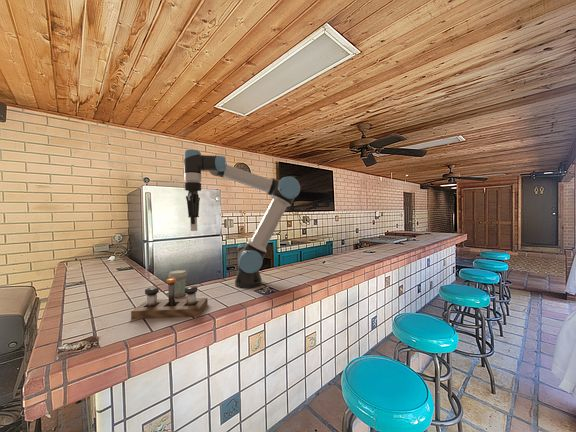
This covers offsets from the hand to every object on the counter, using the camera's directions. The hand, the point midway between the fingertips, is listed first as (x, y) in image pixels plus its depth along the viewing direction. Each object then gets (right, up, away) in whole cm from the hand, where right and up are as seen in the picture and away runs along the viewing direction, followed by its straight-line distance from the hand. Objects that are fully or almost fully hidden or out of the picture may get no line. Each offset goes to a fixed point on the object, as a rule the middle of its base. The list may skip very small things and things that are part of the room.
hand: (194, 230), depth 116 cm
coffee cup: (-9, -33, +2) cm, 34 cm away
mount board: (-3, -33, -17) cm, 37 cm away
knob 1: (-11, -33, -17) cm, 39 cm away
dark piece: (-3, -30, -17) cm, 34 cm away
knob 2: (+5, -33, -16) cm, 37 cm away
